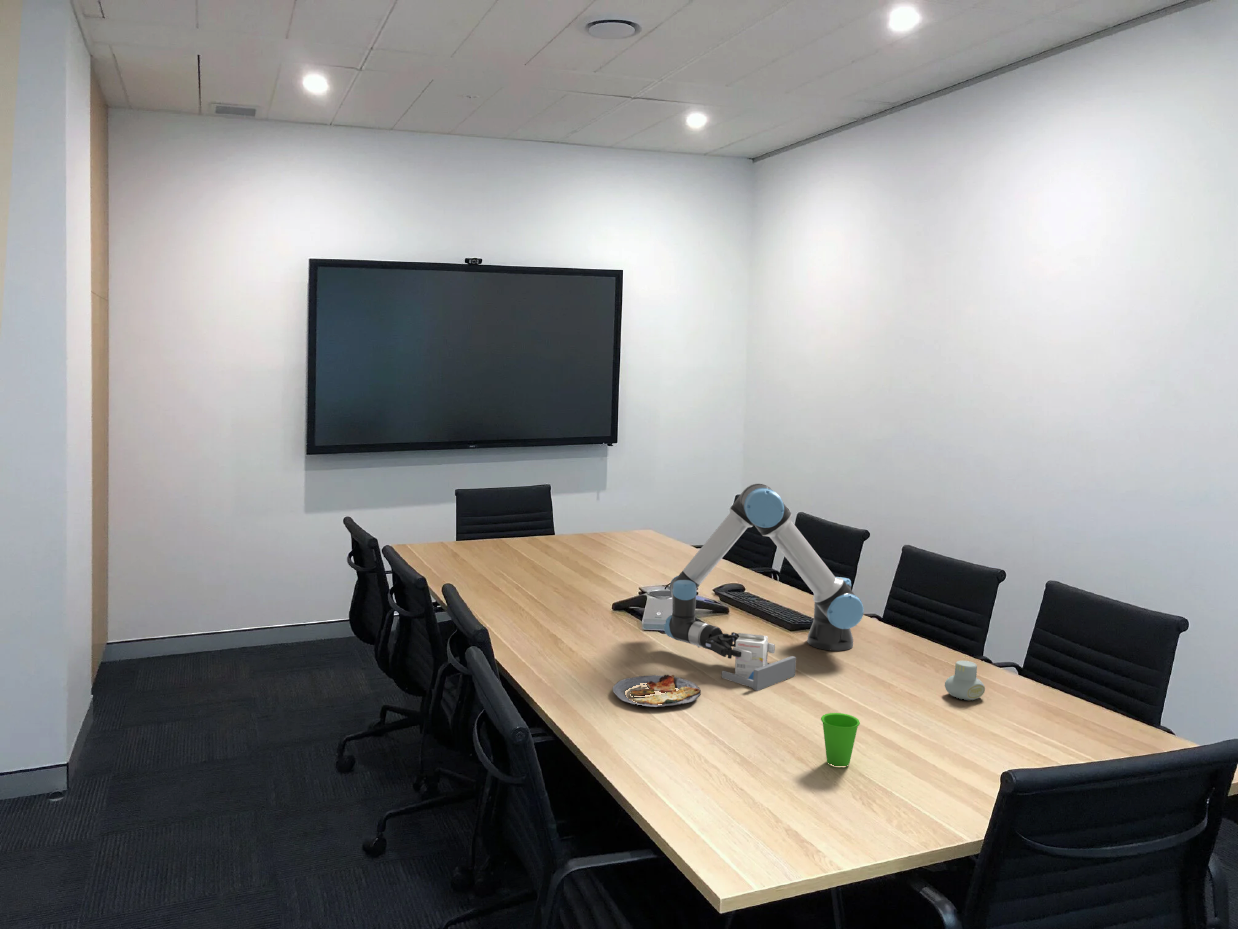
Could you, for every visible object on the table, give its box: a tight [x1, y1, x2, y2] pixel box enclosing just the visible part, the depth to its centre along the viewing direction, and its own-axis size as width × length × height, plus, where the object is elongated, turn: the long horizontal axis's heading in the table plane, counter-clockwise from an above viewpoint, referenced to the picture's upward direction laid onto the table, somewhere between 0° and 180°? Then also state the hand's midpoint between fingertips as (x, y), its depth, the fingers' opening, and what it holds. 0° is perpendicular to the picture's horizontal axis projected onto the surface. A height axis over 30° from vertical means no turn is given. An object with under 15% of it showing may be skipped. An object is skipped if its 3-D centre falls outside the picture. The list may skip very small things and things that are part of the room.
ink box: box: [734, 632, 769, 680], centre depth 290 cm, size 9×8×13 cm
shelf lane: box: [721, 655, 797, 692], centre depth 288 cm, size 14×19×6 cm
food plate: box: [612, 674, 702, 708], centre depth 271 cm, size 25×23×4 cm
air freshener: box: [944, 660, 986, 701], centre depth 275 cm, size 11×8×10 cm
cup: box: [820, 712, 861, 766], centre depth 228 cm, size 9×9×11 cm
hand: (762, 652), depth 286 cm, fingers closed on ink box, 11 cm apart
